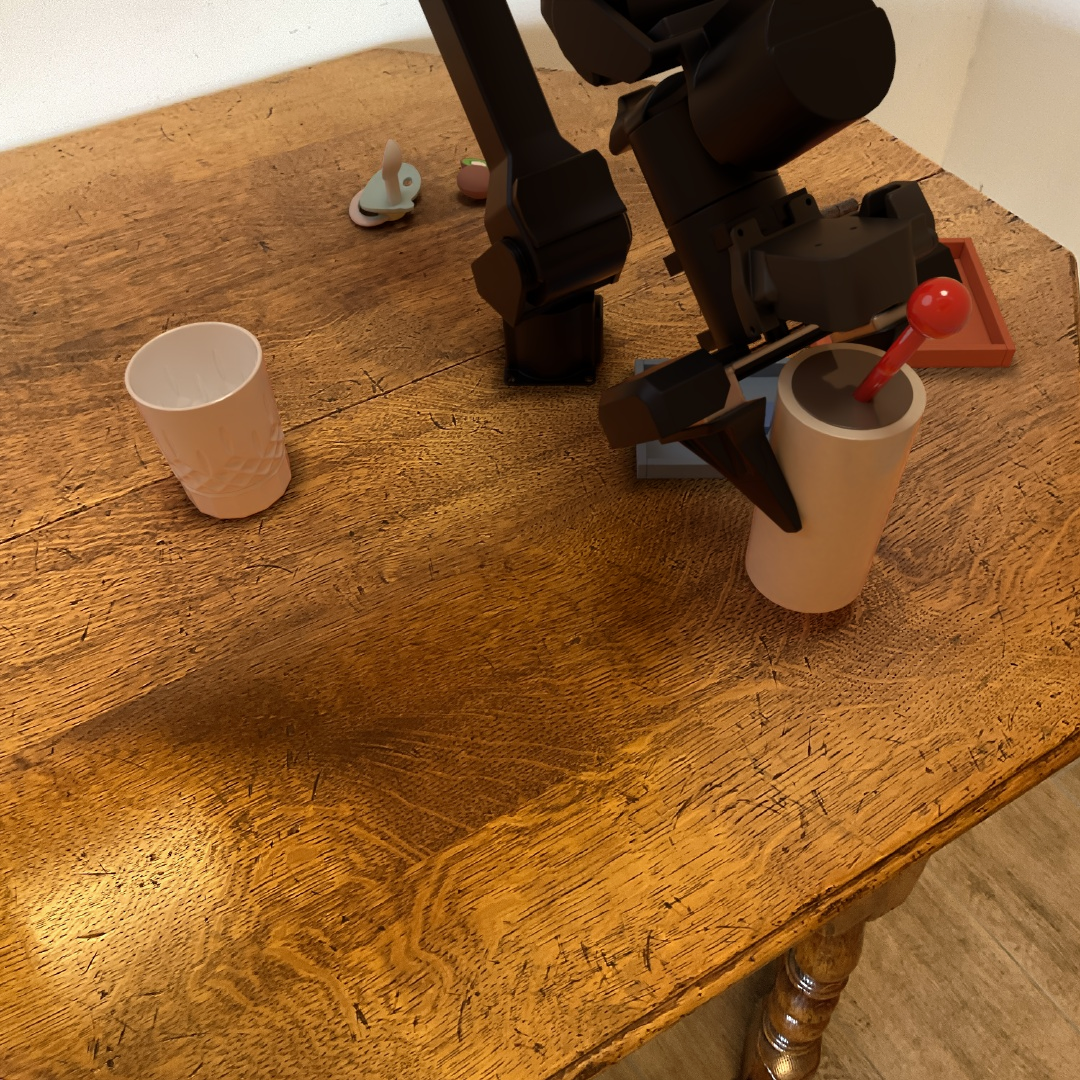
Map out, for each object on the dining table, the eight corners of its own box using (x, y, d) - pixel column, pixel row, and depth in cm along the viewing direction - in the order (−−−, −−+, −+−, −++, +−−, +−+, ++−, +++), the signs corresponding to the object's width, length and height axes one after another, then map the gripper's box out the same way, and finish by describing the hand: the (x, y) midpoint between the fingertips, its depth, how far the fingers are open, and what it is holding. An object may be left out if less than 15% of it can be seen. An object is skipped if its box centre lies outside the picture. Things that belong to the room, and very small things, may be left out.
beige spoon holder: (720, 554, 56) (769, 237, 40) (808, 503, 58) (886, 183, 43) (814, 645, 52) (909, 332, 36) (904, 587, 54) (1031, 267, 38)
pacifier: (342, 235, 84) (412, 234, 83) (324, 165, 79) (398, 164, 78) (361, 187, 88) (427, 186, 88) (345, 119, 84) (414, 117, 83)
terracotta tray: (813, 373, 70) (818, 350, 68) (791, 262, 78) (795, 239, 77) (1007, 371, 69) (1016, 349, 67) (963, 259, 77) (971, 237, 76)
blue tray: (636, 483, 64) (637, 464, 63) (634, 377, 70) (634, 358, 69) (830, 483, 63) (835, 464, 62) (809, 376, 70) (813, 357, 68)
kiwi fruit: (522, 182, 87) (520, 154, 85) (486, 210, 84) (483, 182, 82) (472, 165, 89) (470, 137, 87) (436, 192, 87) (432, 164, 85)
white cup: (197, 544, 62) (141, 428, 55) (167, 466, 67) (111, 348, 59) (317, 498, 64) (279, 379, 57) (279, 425, 69) (239, 306, 61)
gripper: (642, 219, 37) (804, 595, 39) (991, 69, 43) (1112, 403, 45) (535, 292, 47) (668, 585, 49) (827, 163, 53) (933, 430, 55)
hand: (846, 500), depth 50 cm, fingers closed on beige spoon holder, 6 cm apart
